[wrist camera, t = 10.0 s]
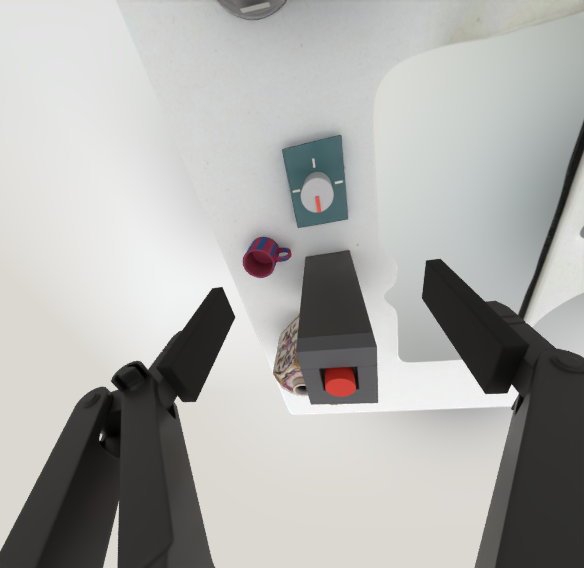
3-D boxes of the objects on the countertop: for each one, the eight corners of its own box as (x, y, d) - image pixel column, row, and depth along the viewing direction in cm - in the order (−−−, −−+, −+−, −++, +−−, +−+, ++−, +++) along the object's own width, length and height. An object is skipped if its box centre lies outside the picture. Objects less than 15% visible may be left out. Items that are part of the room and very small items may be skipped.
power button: (323, 364, 31) (323, 379, 29) (352, 362, 31) (354, 378, 29) (326, 381, 34) (327, 397, 31) (354, 380, 33) (356, 396, 31)
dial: (301, 175, 41) (297, 182, 34) (329, 168, 40) (331, 174, 33) (306, 203, 43) (303, 215, 36) (332, 197, 42) (335, 209, 35)
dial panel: (284, 148, 41) (281, 149, 39) (339, 135, 39) (341, 134, 37) (298, 223, 48) (297, 228, 46) (346, 214, 47) (348, 219, 44)
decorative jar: (302, 310, 61) (297, 367, 46) (335, 331, 64) (341, 390, 49) (278, 335, 67) (267, 392, 52) (310, 352, 70) (307, 411, 55)
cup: (248, 237, 51) (239, 249, 46) (292, 235, 50) (288, 247, 44) (253, 263, 55) (246, 278, 49) (294, 262, 54) (291, 276, 48)
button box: (305, 256, 53) (295, 352, 29) (349, 250, 51) (376, 346, 27) (313, 298, 59) (310, 404, 35) (353, 293, 57) (378, 403, 33)
